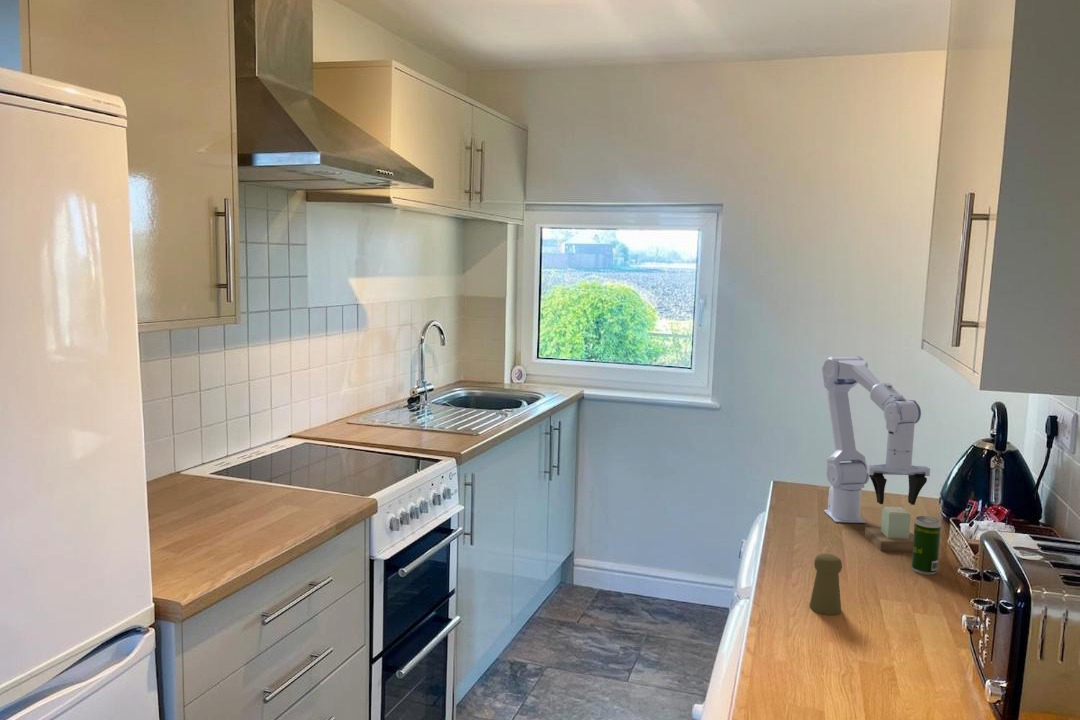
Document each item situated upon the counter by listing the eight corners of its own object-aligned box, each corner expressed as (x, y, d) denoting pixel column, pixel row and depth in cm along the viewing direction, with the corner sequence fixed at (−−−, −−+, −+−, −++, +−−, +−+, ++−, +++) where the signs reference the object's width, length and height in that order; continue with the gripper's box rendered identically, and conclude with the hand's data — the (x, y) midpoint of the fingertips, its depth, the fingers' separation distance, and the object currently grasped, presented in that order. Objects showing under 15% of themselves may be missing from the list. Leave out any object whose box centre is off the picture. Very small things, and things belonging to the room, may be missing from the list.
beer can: (941, 571, 177) (945, 520, 175) (930, 577, 173) (934, 525, 172) (917, 564, 181) (921, 514, 179) (906, 570, 177) (910, 518, 176)
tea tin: (880, 530, 196) (882, 506, 195) (901, 531, 196) (903, 506, 195) (887, 537, 191) (889, 512, 190) (908, 538, 191) (910, 513, 190)
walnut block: (864, 538, 199) (865, 527, 199) (904, 539, 199) (905, 528, 198) (880, 553, 189) (881, 541, 189) (922, 554, 189) (923, 542, 188)
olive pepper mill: (826, 617, 153) (829, 563, 152) (802, 605, 158) (805, 553, 157) (848, 611, 156) (851, 558, 154) (824, 599, 161) (827, 548, 160)
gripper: (876, 452, 187) (872, 507, 189) (937, 453, 187) (933, 509, 188) (864, 445, 194) (861, 498, 196) (924, 446, 194) (919, 500, 195)
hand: (895, 503), depth 192 cm, fingers open, 7 cm apart
